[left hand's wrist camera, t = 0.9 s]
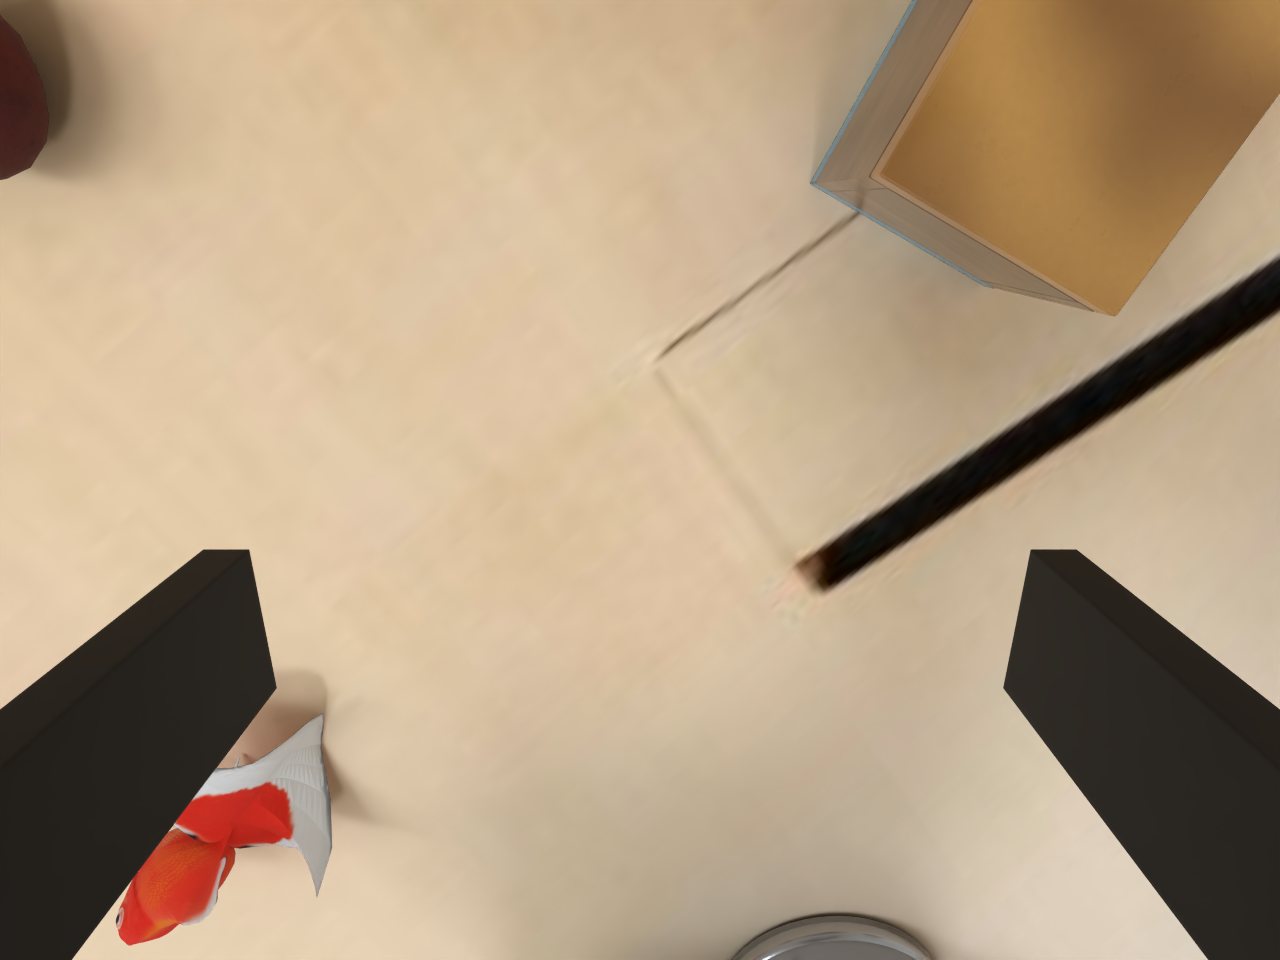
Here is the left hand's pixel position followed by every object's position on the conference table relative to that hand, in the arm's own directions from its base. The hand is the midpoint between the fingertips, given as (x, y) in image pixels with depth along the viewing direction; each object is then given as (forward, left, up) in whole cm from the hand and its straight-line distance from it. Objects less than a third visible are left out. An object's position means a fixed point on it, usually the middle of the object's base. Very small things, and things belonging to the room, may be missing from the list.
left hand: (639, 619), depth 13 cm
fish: (-25, +23, -25) cm, 42 cm away
